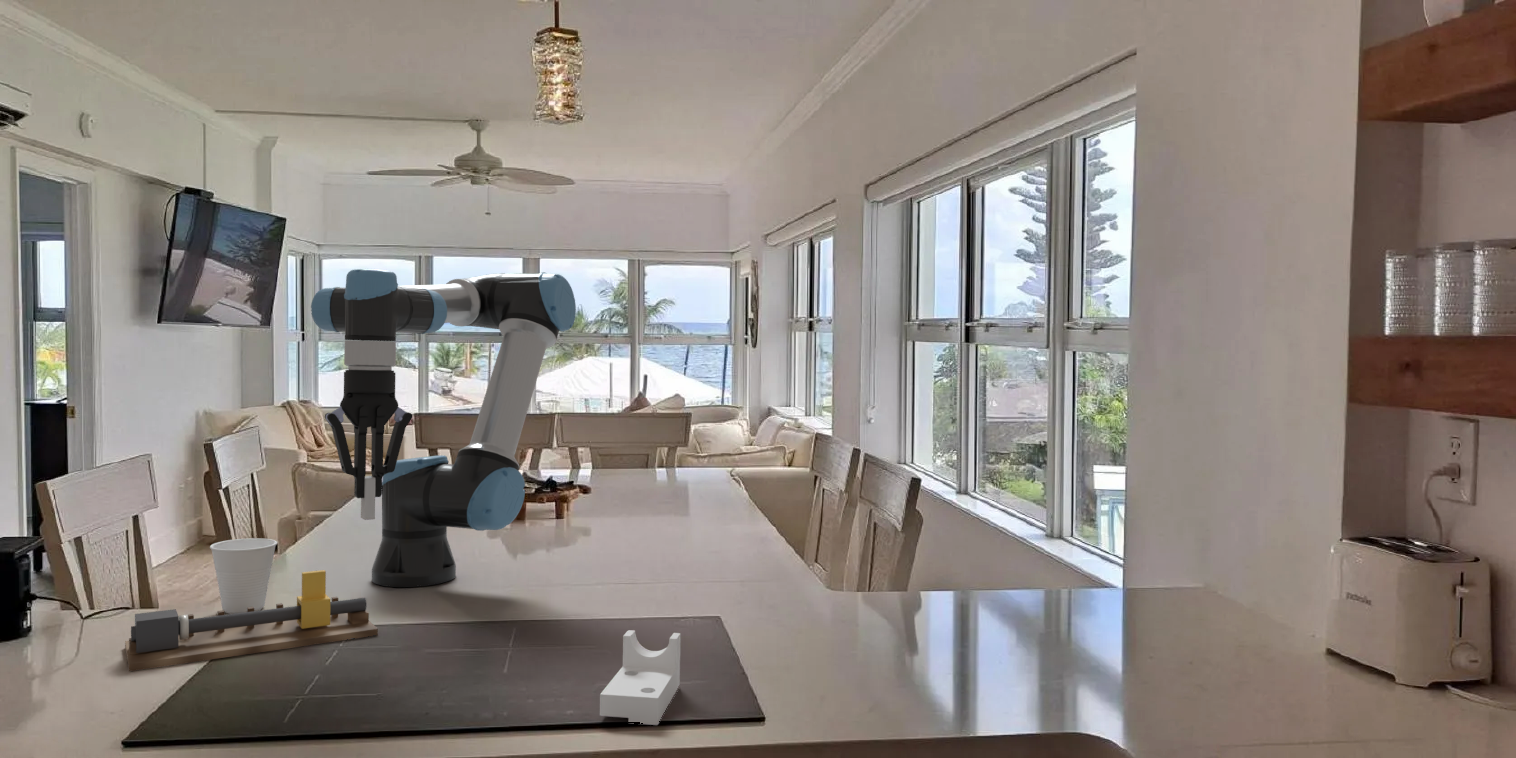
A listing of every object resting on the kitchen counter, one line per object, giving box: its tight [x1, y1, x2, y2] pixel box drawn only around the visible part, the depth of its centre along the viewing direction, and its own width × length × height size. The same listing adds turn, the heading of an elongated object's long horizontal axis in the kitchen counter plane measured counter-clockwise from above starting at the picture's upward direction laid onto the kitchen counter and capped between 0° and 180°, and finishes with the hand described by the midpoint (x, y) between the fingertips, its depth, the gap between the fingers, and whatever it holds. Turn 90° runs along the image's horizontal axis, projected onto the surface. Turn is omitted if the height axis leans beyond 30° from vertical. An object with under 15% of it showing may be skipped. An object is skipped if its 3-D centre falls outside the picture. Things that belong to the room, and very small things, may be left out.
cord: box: [130, 597, 367, 641], centre depth 144 cm, size 31×2×2 cm, turn 125°
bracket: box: [599, 629, 682, 726], centre depth 123 cm, size 13×7×8 cm, turn 173°
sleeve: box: [296, 569, 331, 629], centre depth 149 cm, size 4×4×8 cm
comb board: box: [124, 596, 379, 672], centre depth 144 cm, size 32×12×4 cm, turn 125°
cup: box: [209, 537, 278, 615], centre depth 161 cm, size 10×10×11 cm
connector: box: [134, 608, 189, 653], centre depth 138 cm, size 6×4×4 cm
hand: (367, 518), depth 153 cm, fingers closed
